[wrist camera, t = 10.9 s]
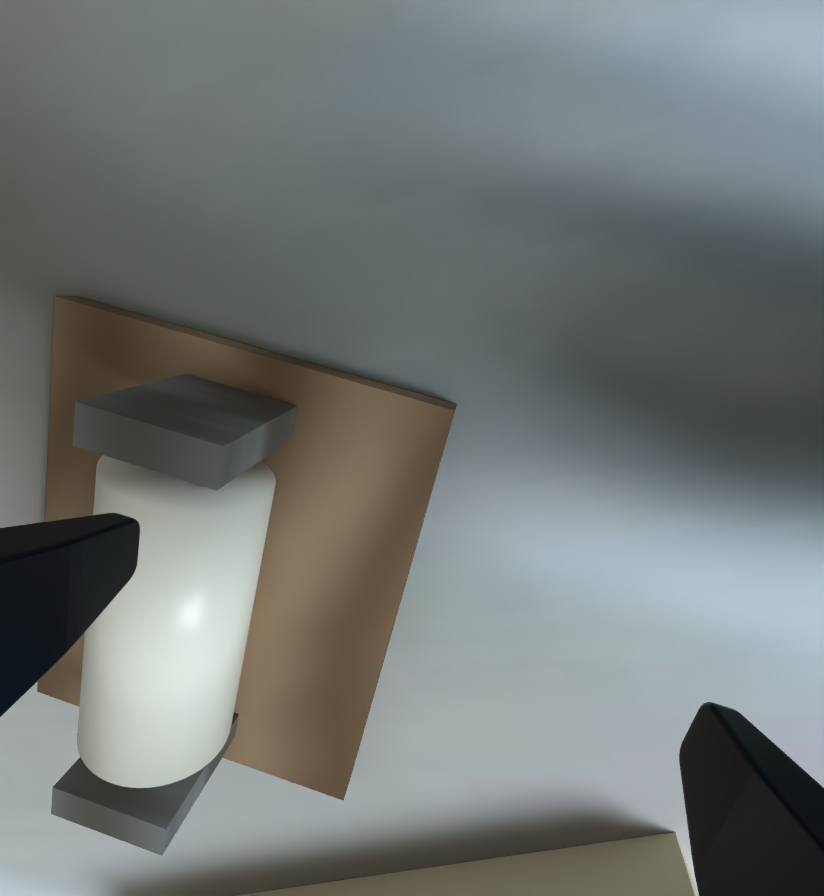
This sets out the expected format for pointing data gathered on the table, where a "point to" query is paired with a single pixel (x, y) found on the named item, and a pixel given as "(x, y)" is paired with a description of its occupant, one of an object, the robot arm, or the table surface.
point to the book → (535, 874)
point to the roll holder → (287, 539)
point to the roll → (172, 624)
